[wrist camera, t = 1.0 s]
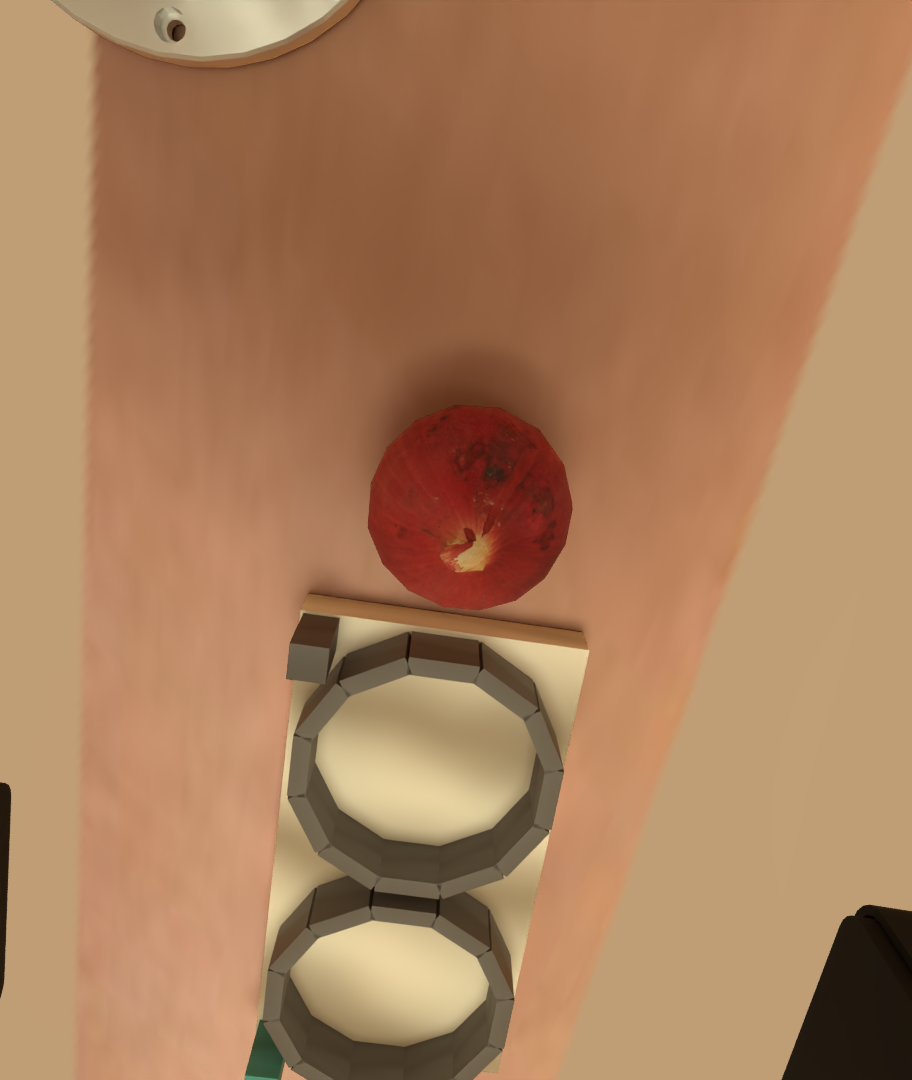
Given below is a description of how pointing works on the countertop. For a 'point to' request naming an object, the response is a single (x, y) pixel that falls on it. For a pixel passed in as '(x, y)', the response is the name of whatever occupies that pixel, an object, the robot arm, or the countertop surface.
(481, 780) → the cream flat ringed piece
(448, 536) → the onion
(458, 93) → the countertop surface
